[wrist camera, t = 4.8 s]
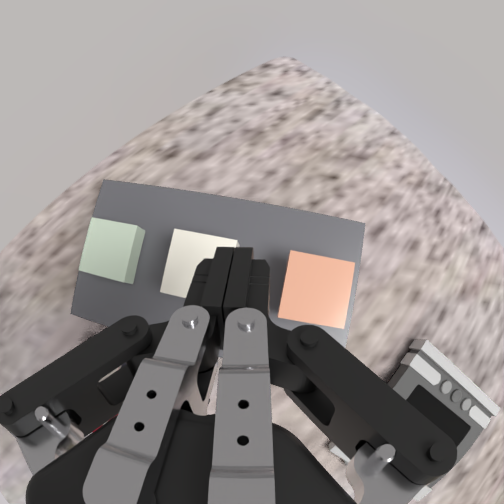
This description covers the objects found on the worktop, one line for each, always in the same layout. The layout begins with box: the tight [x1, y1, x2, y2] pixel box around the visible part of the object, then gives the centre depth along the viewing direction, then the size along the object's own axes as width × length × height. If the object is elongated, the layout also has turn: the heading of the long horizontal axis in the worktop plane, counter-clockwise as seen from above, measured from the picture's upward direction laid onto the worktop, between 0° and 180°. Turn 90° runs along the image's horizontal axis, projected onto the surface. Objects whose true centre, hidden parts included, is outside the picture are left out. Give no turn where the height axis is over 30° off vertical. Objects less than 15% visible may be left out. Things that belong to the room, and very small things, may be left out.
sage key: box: [79, 217, 145, 284], centre depth 29 cm, size 5×5×6 cm
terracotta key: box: [277, 250, 355, 329], centre depth 26 cm, size 5×5×6 cm
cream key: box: [160, 229, 240, 298], centre depth 26 cm, size 5×5×6 cm
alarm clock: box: [329, 339, 500, 501], centre depth 29 cm, size 17×5×16 cm
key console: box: [71, 180, 365, 358], centre depth 31 cm, size 26×14×7 cm, turn 79°
